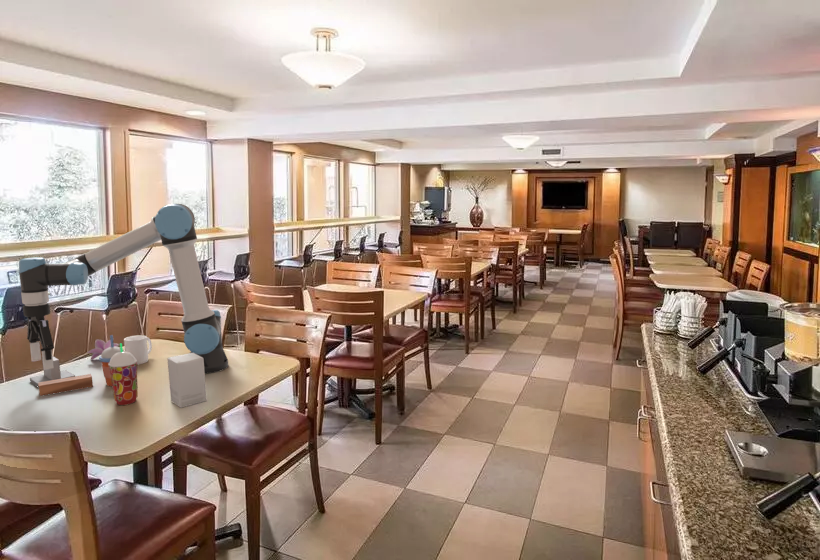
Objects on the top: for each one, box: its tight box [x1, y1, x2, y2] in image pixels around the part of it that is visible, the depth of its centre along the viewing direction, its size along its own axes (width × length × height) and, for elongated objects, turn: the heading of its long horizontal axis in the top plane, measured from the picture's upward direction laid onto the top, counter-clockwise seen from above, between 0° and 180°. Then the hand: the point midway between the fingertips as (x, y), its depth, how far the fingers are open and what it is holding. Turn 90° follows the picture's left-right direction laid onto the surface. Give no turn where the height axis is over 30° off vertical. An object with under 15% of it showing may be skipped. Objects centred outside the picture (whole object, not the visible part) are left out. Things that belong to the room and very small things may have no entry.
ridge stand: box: [29, 356, 76, 388], centre depth 207 cm, size 10×12×8 cm
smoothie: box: [108, 342, 138, 406], centre depth 184 cm, size 8×8×20 cm
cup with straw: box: [98, 334, 125, 387], centre depth 202 cm, size 9×9×18 cm
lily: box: [86, 337, 120, 361], centre depth 233 cm, size 12×12×10 cm
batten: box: [38, 373, 94, 397], centre depth 198 cm, size 4×16×4 cm, turn 124°
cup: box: [123, 335, 153, 365], centre depth 231 cm, size 8×12×10 cm
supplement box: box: [166, 352, 207, 408], centre depth 185 cm, size 9×9×15 cm
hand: (42, 364), depth 192 cm, fingers open, 13 cm apart
